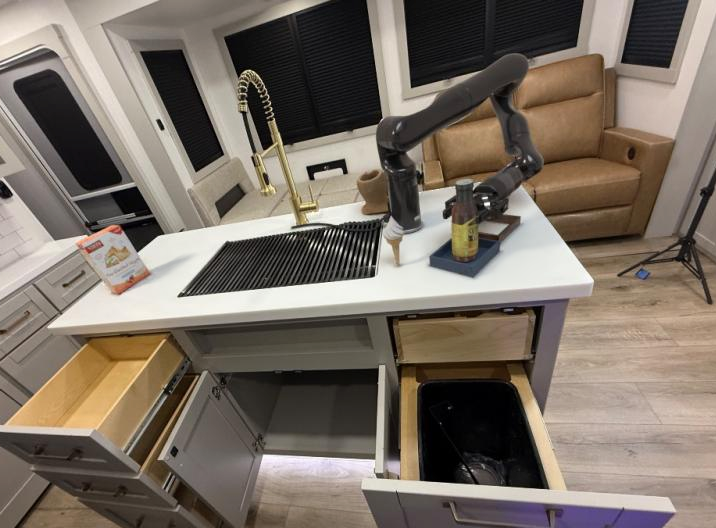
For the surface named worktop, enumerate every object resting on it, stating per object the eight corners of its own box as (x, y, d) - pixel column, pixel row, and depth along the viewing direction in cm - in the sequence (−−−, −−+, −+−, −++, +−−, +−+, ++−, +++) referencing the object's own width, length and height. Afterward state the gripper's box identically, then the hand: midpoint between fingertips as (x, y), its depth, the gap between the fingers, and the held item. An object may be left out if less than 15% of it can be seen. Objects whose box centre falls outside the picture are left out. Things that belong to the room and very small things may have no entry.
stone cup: (358, 219, 126) (349, 179, 118) (366, 206, 135) (359, 167, 126) (398, 216, 120) (392, 173, 112) (404, 202, 129) (399, 162, 120)
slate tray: (429, 266, 90) (429, 256, 89) (456, 243, 96) (456, 233, 95) (473, 277, 82) (473, 266, 80) (499, 251, 88) (500, 241, 86)
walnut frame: (455, 237, 99) (455, 229, 98) (478, 218, 105) (478, 210, 104) (498, 244, 91) (499, 236, 89) (520, 224, 96) (521, 216, 95)
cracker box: (119, 295, 123) (81, 244, 111) (111, 292, 126) (73, 243, 114) (151, 273, 132) (119, 224, 120) (143, 272, 135) (111, 224, 123)
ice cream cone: (396, 258, 97) (388, 209, 89) (412, 262, 94) (406, 212, 85) (384, 268, 95) (375, 218, 86) (400, 273, 91) (393, 221, 82)
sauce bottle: (473, 265, 85) (472, 187, 74) (448, 261, 89) (444, 187, 77) (481, 252, 89) (482, 176, 77) (458, 249, 92) (455, 176, 81)
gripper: (520, 208, 86) (488, 237, 79) (468, 202, 96) (435, 227, 88) (523, 178, 82) (489, 206, 74) (467, 176, 92) (433, 200, 84)
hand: (459, 218), depth 81 cm, fingers open, 8 cm apart
